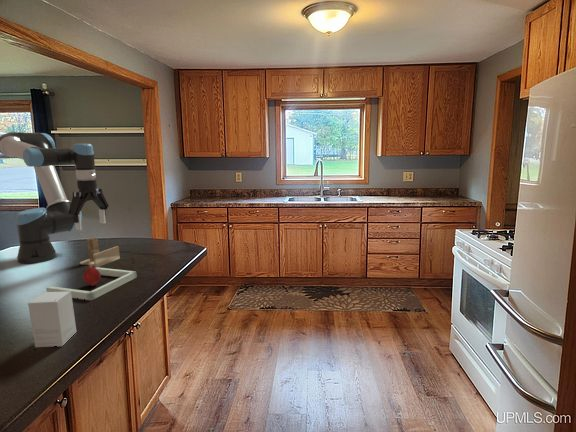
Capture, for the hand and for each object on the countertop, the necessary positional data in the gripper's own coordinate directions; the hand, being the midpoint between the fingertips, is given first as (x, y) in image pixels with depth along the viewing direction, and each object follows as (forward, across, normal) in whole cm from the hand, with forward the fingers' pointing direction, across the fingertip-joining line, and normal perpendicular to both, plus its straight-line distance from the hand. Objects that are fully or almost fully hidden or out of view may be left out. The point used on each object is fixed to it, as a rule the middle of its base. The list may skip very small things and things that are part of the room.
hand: (91, 226), depth 163 cm
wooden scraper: (+16, 0, -2) cm, 17 cm away
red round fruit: (+16, -24, -23) cm, 37 cm away
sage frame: (+16, -24, -24) cm, 37 cm away
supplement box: (+16, -59, -45) cm, 76 cm away
